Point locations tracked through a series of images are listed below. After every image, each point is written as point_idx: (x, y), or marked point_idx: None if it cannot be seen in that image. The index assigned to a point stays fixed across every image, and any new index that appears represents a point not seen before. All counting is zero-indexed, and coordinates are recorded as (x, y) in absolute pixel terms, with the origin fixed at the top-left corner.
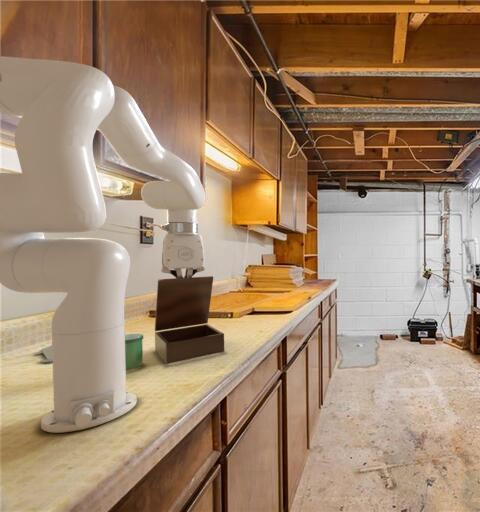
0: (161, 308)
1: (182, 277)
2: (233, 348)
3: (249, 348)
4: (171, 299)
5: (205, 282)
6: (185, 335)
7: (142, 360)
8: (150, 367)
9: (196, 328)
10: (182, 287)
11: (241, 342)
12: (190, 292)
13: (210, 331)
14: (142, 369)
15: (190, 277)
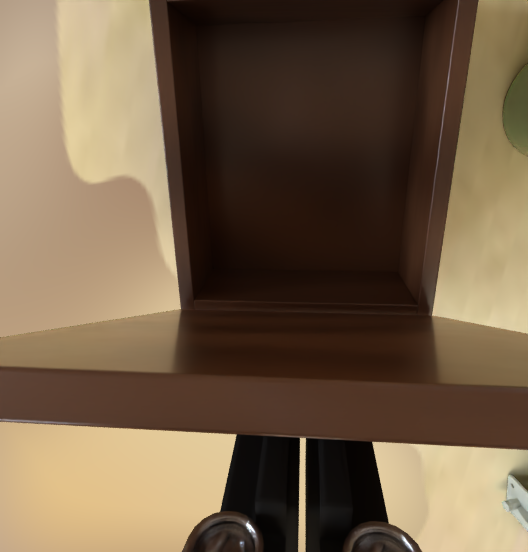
0: (470, 329)
1: (342, 548)
2: (129, 83)
3: (64, 20)
4: (428, 334)
5: (41, 351)
6: (293, 286)
7: (524, 85)
8: (488, 55)
9: (239, 295)
10: (357, 350)
11: (80, 161)
12: (258, 337)
13: (190, 202)
14: (521, 49)
15: (211, 537)
